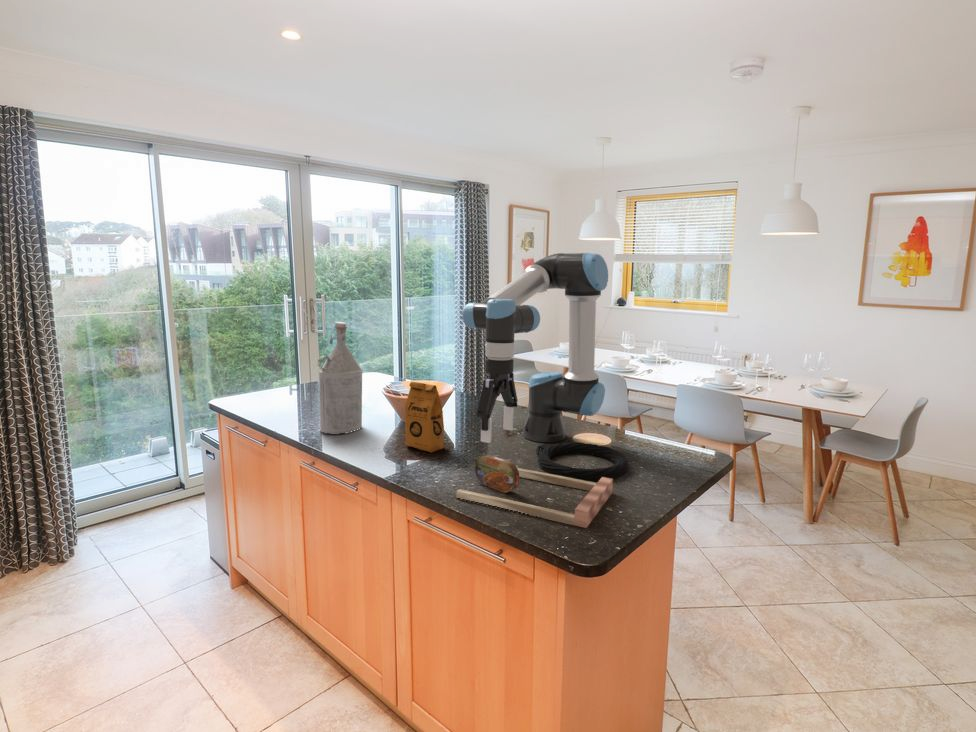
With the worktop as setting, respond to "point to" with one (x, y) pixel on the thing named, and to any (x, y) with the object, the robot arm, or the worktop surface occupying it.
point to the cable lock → (579, 473)
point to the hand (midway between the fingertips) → (497, 435)
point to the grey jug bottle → (340, 388)
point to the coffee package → (424, 418)
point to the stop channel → (580, 518)
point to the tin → (497, 473)
